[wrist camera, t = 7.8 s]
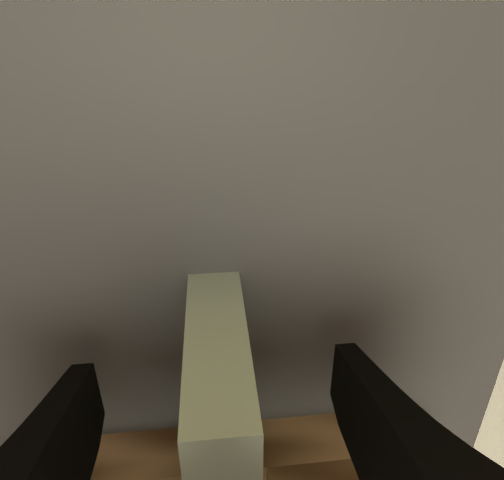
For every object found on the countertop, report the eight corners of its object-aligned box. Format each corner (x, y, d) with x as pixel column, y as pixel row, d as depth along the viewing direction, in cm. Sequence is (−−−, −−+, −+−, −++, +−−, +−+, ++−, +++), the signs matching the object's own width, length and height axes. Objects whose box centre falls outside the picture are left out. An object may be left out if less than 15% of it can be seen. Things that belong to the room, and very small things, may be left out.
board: (-3, 555, 20) (-12, 580, 19) (-278, 3, 10) (-328, 0, 9) (436, 505, 22) (446, 524, 21) (593, 3, 12) (626, 0, 11)
